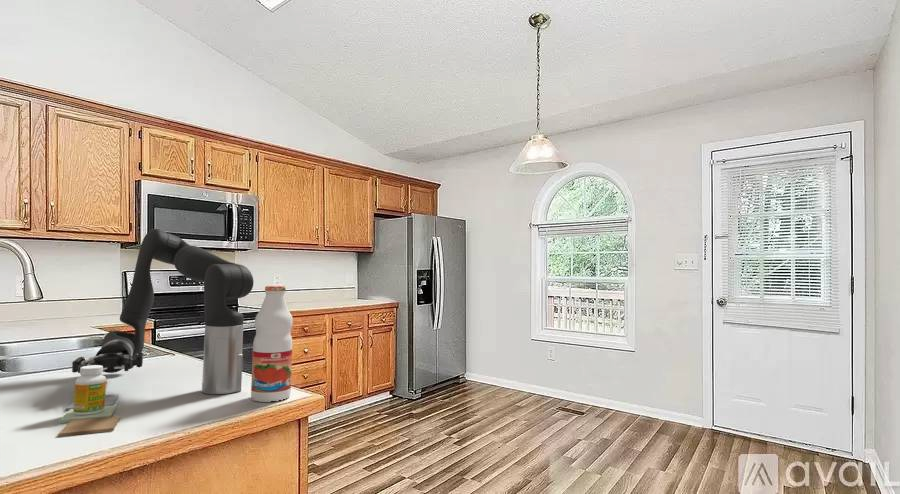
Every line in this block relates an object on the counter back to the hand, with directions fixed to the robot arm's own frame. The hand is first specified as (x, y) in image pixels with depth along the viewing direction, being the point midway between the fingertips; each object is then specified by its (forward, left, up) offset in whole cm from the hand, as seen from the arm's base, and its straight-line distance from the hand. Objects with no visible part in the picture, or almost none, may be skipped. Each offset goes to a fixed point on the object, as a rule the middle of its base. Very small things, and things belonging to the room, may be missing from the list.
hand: (104, 368), depth 114 cm
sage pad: (+1, +11, -8) cm, 14 cm away
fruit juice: (-36, +11, -8) cm, 39 cm away
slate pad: (+2, +2, -8) cm, 8 cm away
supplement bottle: (+1, +11, -7) cm, 13 cm away
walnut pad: (-1, +21, -8) cm, 22 cm away
